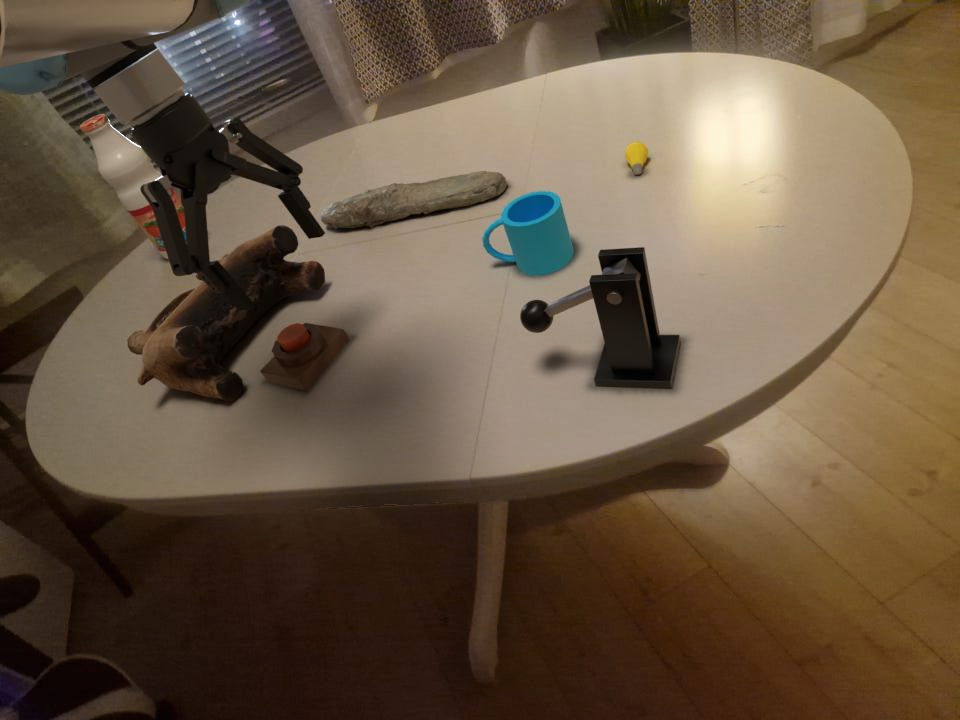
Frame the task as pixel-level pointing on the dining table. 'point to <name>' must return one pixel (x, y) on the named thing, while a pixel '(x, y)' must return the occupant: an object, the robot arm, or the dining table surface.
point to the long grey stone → (413, 199)
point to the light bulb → (636, 156)
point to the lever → (565, 301)
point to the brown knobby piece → (221, 317)
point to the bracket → (631, 327)
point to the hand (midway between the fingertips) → (284, 270)
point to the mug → (534, 234)
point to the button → (293, 337)
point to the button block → (305, 358)
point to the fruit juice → (128, 175)
